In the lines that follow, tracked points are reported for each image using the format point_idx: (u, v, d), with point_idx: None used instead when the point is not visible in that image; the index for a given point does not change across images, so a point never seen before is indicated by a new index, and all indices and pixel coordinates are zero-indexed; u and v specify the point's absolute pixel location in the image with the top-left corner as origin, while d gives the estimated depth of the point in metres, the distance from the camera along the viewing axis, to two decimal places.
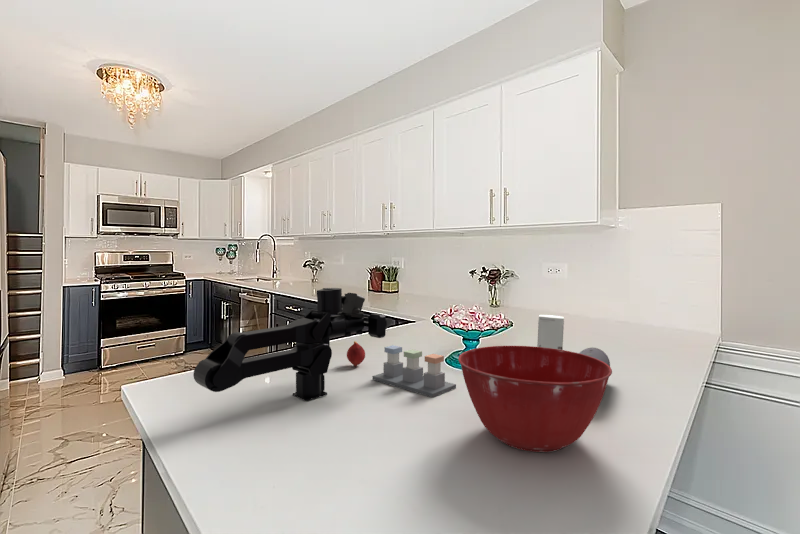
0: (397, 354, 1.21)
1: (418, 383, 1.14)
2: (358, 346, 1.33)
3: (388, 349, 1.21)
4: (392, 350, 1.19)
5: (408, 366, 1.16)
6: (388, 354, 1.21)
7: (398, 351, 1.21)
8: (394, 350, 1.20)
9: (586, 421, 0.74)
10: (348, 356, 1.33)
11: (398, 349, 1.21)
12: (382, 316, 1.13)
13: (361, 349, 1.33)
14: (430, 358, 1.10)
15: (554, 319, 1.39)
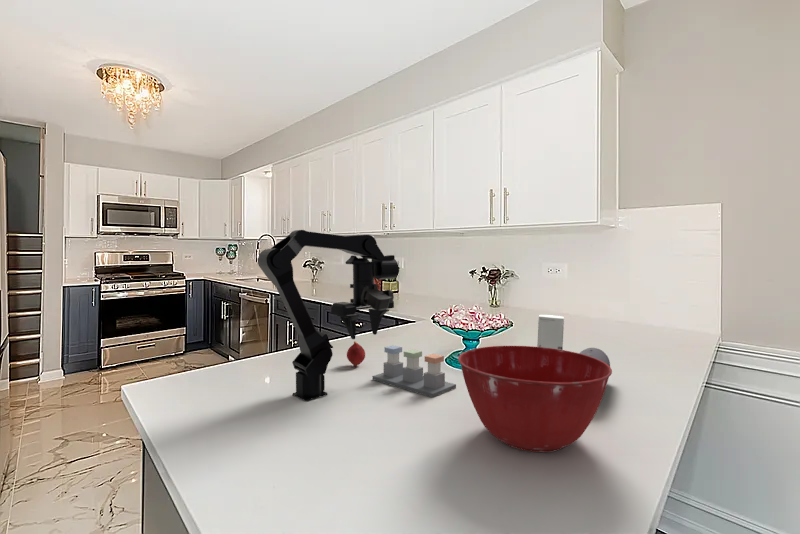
0: (397, 354, 1.21)
1: (418, 383, 1.14)
2: (358, 346, 1.33)
3: (388, 349, 1.21)
4: (392, 350, 1.19)
5: (408, 366, 1.16)
6: (388, 354, 1.21)
7: (398, 351, 1.21)
8: (394, 350, 1.20)
9: (586, 421, 0.74)
10: (348, 356, 1.33)
11: (398, 349, 1.21)
12: (344, 311, 1.08)
13: (361, 349, 1.33)
14: (430, 358, 1.10)
15: (554, 319, 1.39)
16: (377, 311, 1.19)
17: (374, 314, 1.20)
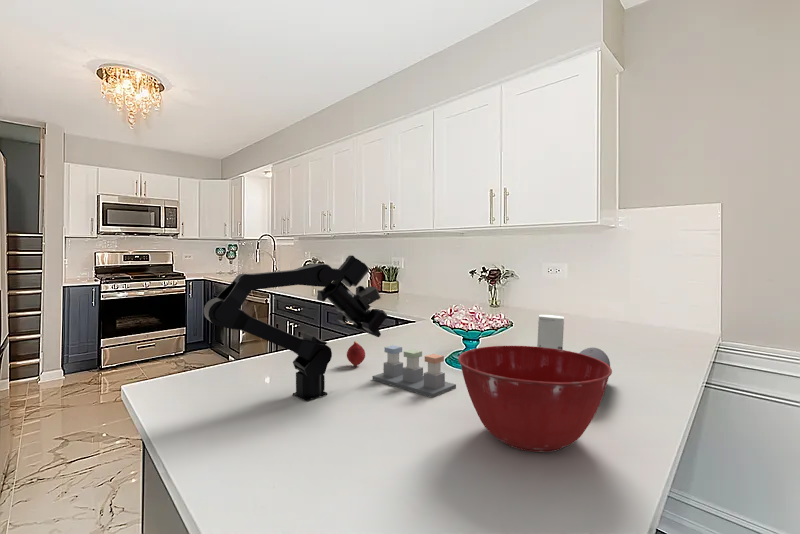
0: (397, 354, 1.21)
1: (418, 383, 1.14)
2: (358, 346, 1.33)
3: (388, 349, 1.21)
4: (392, 350, 1.19)
5: (408, 366, 1.16)
6: (388, 354, 1.21)
7: (398, 351, 1.21)
8: (394, 350, 1.20)
9: (586, 421, 0.74)
10: (348, 356, 1.33)
11: (398, 349, 1.21)
12: (384, 313, 1.09)
13: (361, 349, 1.33)
14: (430, 358, 1.10)
15: (554, 319, 1.39)
16: None
17: None
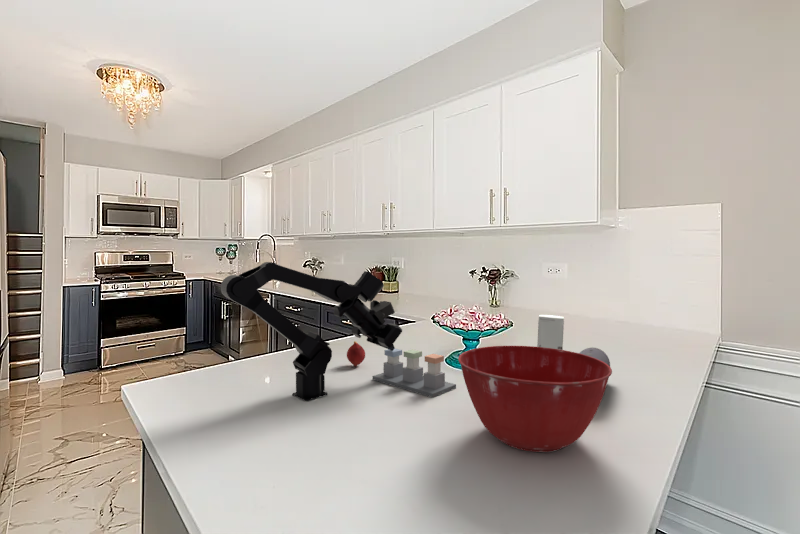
0: (397, 357, 1.21)
1: (418, 383, 1.14)
2: (358, 346, 1.33)
3: (388, 352, 1.21)
4: (392, 353, 1.20)
5: (408, 366, 1.16)
6: (388, 357, 1.22)
7: (398, 354, 1.21)
8: (394, 353, 1.20)
9: (586, 421, 0.74)
10: (348, 356, 1.33)
11: (398, 352, 1.21)
12: (400, 328, 1.12)
13: (361, 349, 1.33)
14: (430, 358, 1.10)
15: (554, 319, 1.39)
16: None
17: None
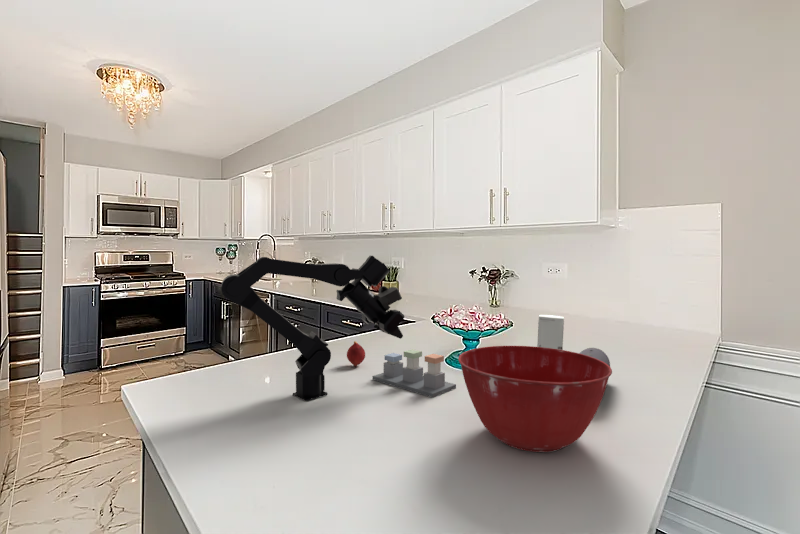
0: (397, 362, 1.21)
1: (418, 383, 1.14)
2: (358, 346, 1.33)
3: (388, 357, 1.21)
4: (392, 358, 1.20)
5: (408, 366, 1.16)
6: (388, 362, 1.22)
7: (398, 359, 1.21)
8: (394, 358, 1.20)
9: (586, 421, 0.74)
10: (348, 356, 1.33)
11: (398, 357, 1.21)
12: (401, 314, 1.07)
13: (361, 349, 1.33)
14: (430, 358, 1.10)
15: (554, 319, 1.39)
16: None
17: None
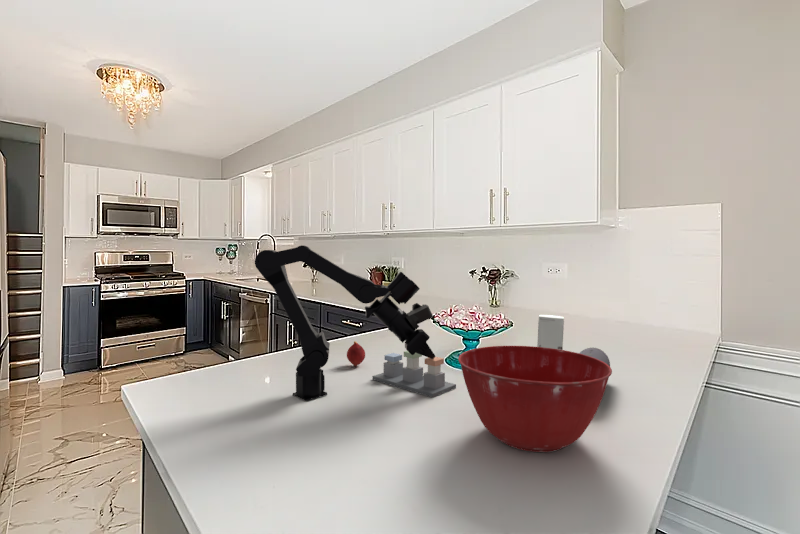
0: (397, 362, 1.21)
1: (418, 383, 1.14)
2: (358, 346, 1.33)
3: (388, 357, 1.21)
4: (392, 358, 1.20)
5: (408, 366, 1.16)
6: (388, 362, 1.22)
7: (398, 359, 1.21)
8: (394, 358, 1.20)
9: (586, 421, 0.74)
10: (348, 356, 1.33)
11: (398, 357, 1.21)
12: (426, 335, 1.02)
13: (361, 349, 1.33)
14: (430, 361, 1.10)
15: (554, 319, 1.39)
16: None
17: None
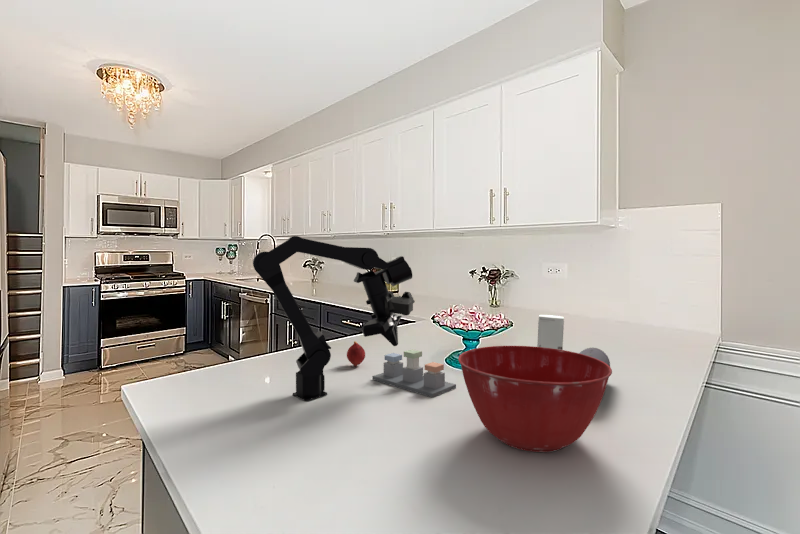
0: (397, 362, 1.21)
1: (418, 383, 1.14)
2: (358, 346, 1.33)
3: (388, 357, 1.21)
4: (392, 358, 1.20)
5: (408, 366, 1.16)
6: (388, 362, 1.22)
7: (398, 359, 1.21)
8: (394, 358, 1.20)
9: (586, 421, 0.74)
10: (348, 356, 1.33)
11: (398, 357, 1.21)
12: (381, 329, 1.05)
13: (361, 349, 1.33)
14: (430, 367, 1.10)
15: (554, 319, 1.39)
16: None
17: None
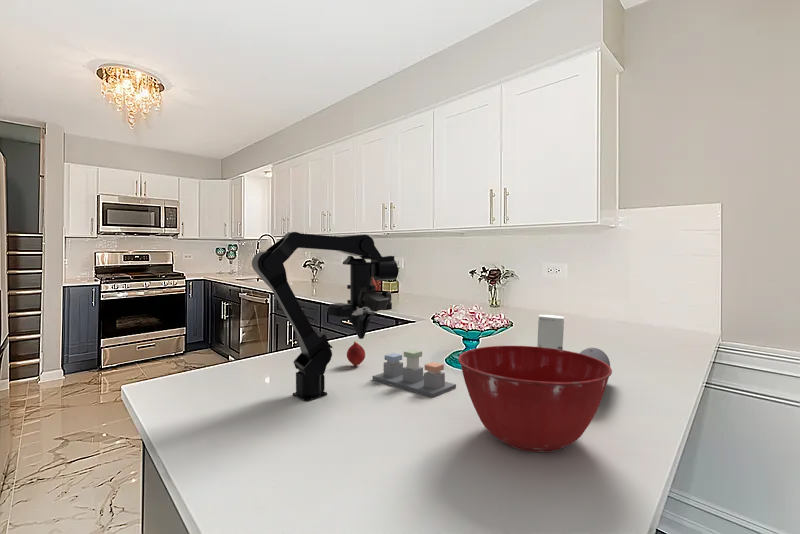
0: (397, 362, 1.21)
1: (418, 383, 1.14)
2: (358, 346, 1.33)
3: (388, 357, 1.21)
4: (392, 358, 1.20)
5: (408, 366, 1.16)
6: (388, 362, 1.22)
7: (398, 359, 1.21)
8: (394, 358, 1.20)
9: (586, 421, 0.74)
10: (348, 356, 1.33)
11: (398, 357, 1.21)
12: (341, 312, 1.06)
13: (361, 349, 1.33)
14: (430, 367, 1.10)
15: (554, 319, 1.39)
16: (364, 314, 1.14)
17: None
